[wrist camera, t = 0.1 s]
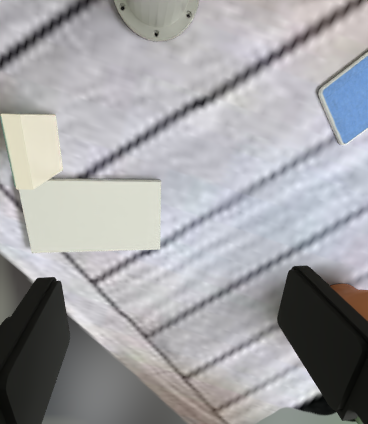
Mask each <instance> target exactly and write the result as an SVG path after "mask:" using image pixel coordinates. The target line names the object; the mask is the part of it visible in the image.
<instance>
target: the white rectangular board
mask: <svg viewBox="0 0 368 424" xmlns="http://www.w3.org/2000/svg"><path fill="white" fill-rule="evenodd" d="M19 193H20V198H21V203H22V208H23V213H24V218H25V222H26V227H27V232H28V237H29V242H30V247H31V251H32V253H53V252H87V251H120V250H154V249H160V214H161V180H127V179H49V180H47V181H46V182H44V183H43V184H41V185H40V186H38V187H37V188H35V189H34V190H29V189H19Z"/></svg>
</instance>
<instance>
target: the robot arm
mask: <svg viewBox="0 0 368 424" xmlns="http://www.w3.org/2000/svg"><path fill="white" fill-rule="evenodd" d="M114 3H115V6H116V8H117V11H118V12H119V14H120V16H121V18H122V19H123V21H124V22H125V23H126V25H127V26H128V27H129V28H130V29H131V30H132V31H133V32H134V33H136V34H137V35H139V36H141V37H142V38H145V39H147V40H150V41H156V42H161V41H168V40H171V39H174V38H175V37H177V36H179V35H180V34H181V33H183V32H184V31H185V30H186V29H187V27H188V26H189V25H190V23H191V22H192V20H193V18H194V16H195V13H196V11H197V8H198V4H199V0H114ZM122 7H124V8H125V10H123V11H122V10H121V8H122ZM186 15H189V18H187V16H186ZM155 33H156V34H157V35H158V36H157V37H155V36H154V34H155ZM277 320H278V324H279V326H280V328H281V330H282V331H283V333H284V334H285V336H286V338H287V339H288V341H289V342H290V344H291V346H292V347H293V349H294V350H295V352H296V354H297V355H298V357H299V358H300V360H301V361H302V363H303V365H304V366H305V368H306V369H307V371H308V373H309V374H310V376H311V377H312V379H313V381H314V382H315V384H316V385H317V387H318V389H319V390H320V392H321V393H322V395H323V396H324V398H325V400H326V401H327V403H328V404H329V406H330V407H331V408H332V409H333V410H336V412H337V413H338V415H339V416H340V418H341V419H342V421H344V420H351V419H357V417H359V418H360V419H361V421H362V422H363V424H368V321H367V320H366V319H365V318H364V317H363V316H362V315H360V314H359V313H358V312H357V311H356V310H355V309H354V308H353V307H352V306H351V305H350V304H349V303H348V302H346V301H345V300H344V299H343V298H342V297H341V296H340V295H339V294H338V293H337V292H336V291H335V290H334V289H333V288H331V287H330V286H329V285H328V284H327V283H326V282H325V281H324V280H323V279H322V278H321V277H320V276H319V275H318V274H316V273H315V272H314V271H313V270H312V269H311V268H310V267H309V266H294V267H292V269H291V270H289V272H288V275H287V279H286V284H285V288H284V292H283V296H282V300H281V304H280V309H279V313H278V317H277ZM69 340H70V331H69V325H68V320H67V314H66V308H65V302H64V296H63V290H62V284H61V281H56V278H55V277H47V278H37V279H36V280H35V282H34V283H33V285H32V286H31V288H30V289H29V291H28V292H27V294H26V295H25V297H24V298H23V300H22V301H21V302H20V304H19V305H18V307H17V308H16V310H15V311H14V313H13V314H12V316H11V317H8V318H6V319H5V320H4V321H3V322H2V324H1V325H0V424H41V423H42V420H43V418H44V415H45V412H46V409H47V406H48V403H49V400H50V397H51V394H52V391H53V388H54V385H55V383H56V380H57V377H58V374H59V371H60V368H61V365H62V362H63V359H64V356H65V353H66V350H67V347H68V345H69Z"/></svg>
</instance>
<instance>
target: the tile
mask: <svg viewBox="0 0 368 424" xmlns="http://www.w3.org/2000/svg"><path fill="white" fill-rule="evenodd" d="M0 119H1V124H2V129H3V133H4V138H5V143H6V148H7V152H8V157H9V162H10V166H11V171H12V176H13V180H14V185H15V187H16V189H29V190H34V189H35V188H37V187H38V186H40V185H41V184H43V183H44V182H46V181H47V180H49V179H50V178H52V177H53V176H55V175H57V174H58V173H60V172H61V171H63V166H62V158H61V151H60V143H59V136H58V129H57V121H56V115H49V114H1V116H0Z"/></svg>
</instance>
